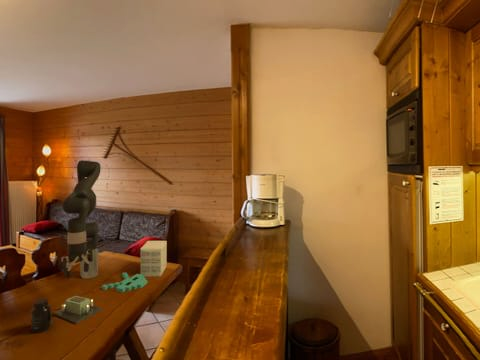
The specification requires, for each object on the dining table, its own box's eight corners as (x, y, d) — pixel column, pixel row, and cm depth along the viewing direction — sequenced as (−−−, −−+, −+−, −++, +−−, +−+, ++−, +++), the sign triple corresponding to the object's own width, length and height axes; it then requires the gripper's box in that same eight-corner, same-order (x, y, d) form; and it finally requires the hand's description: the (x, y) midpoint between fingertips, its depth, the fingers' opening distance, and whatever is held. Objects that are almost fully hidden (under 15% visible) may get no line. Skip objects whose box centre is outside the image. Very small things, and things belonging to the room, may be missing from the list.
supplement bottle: (38, 323, 116) (37, 297, 116) (54, 323, 117) (54, 296, 116) (27, 333, 110) (26, 305, 109) (44, 333, 110) (44, 305, 109)
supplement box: (147, 266, 184) (147, 240, 183) (166, 266, 185) (167, 240, 184) (139, 276, 167) (139, 248, 166) (161, 276, 168) (161, 248, 167)
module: (65, 311, 125) (65, 299, 124) (75, 305, 129) (75, 295, 129) (80, 314, 122) (80, 303, 121) (89, 309, 127) (89, 298, 126)
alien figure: (101, 290, 149) (134, 294, 145) (101, 286, 149) (134, 290, 145) (123, 275, 169) (152, 279, 165) (123, 272, 169) (152, 275, 165)
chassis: (53, 314, 123) (53, 303, 123) (78, 302, 134) (78, 292, 134) (76, 323, 117) (76, 312, 117) (100, 310, 128) (100, 300, 127)
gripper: (86, 236, 132) (86, 268, 133) (56, 243, 119) (56, 279, 120) (96, 238, 129) (96, 271, 130) (66, 246, 116) (67, 282, 117)
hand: (77, 274), depth 125 cm, fingers open, 8 cm apart
